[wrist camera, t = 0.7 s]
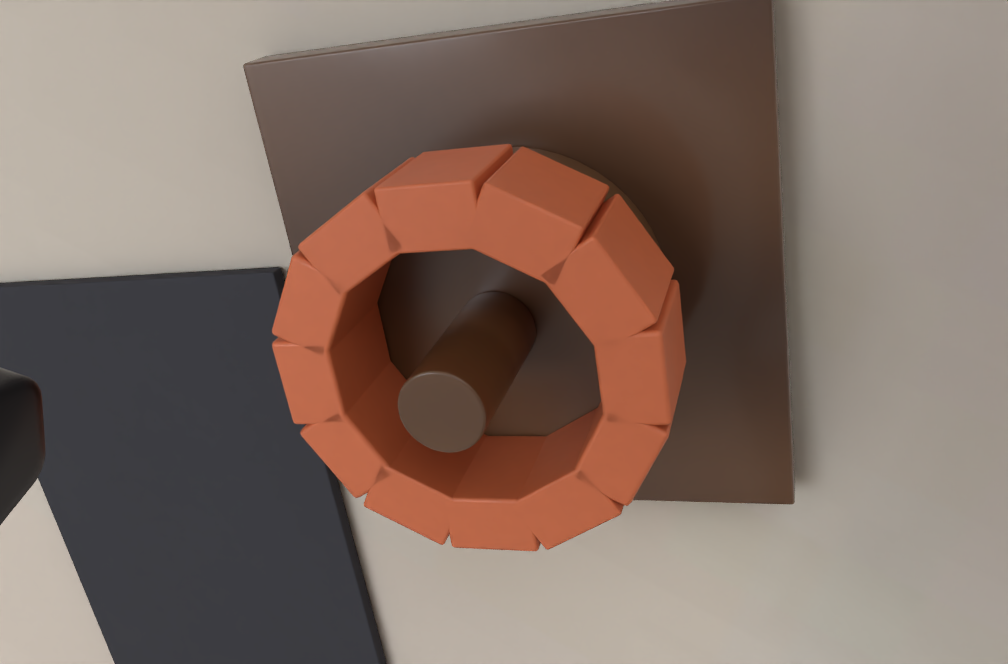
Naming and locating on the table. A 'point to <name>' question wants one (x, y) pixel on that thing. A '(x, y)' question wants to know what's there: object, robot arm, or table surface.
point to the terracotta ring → (525, 247)
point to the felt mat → (187, 471)
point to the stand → (628, 172)
